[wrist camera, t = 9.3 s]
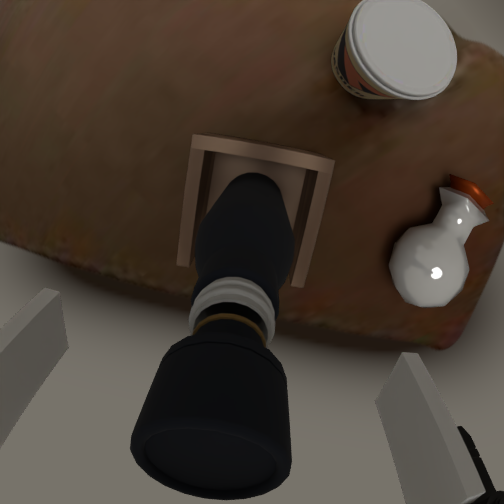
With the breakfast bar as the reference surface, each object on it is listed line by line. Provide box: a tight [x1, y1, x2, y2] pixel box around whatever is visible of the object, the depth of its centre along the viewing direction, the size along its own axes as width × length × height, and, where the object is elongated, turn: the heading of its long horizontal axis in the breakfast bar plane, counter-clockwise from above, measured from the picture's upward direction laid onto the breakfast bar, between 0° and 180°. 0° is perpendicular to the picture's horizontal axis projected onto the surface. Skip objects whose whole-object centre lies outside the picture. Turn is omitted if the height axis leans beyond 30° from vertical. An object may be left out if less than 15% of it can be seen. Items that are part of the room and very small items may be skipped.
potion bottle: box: [389, 174, 494, 308], centre depth 31 cm, size 9×10×15 cm
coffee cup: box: [331, 0, 457, 100], centre depth 23 cm, size 9×9×12 cm
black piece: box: [130, 172, 295, 500], centre depth 20 cm, size 6×6×30 cm
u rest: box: [177, 133, 335, 288], centre depth 31 cm, size 12×12×8 cm
